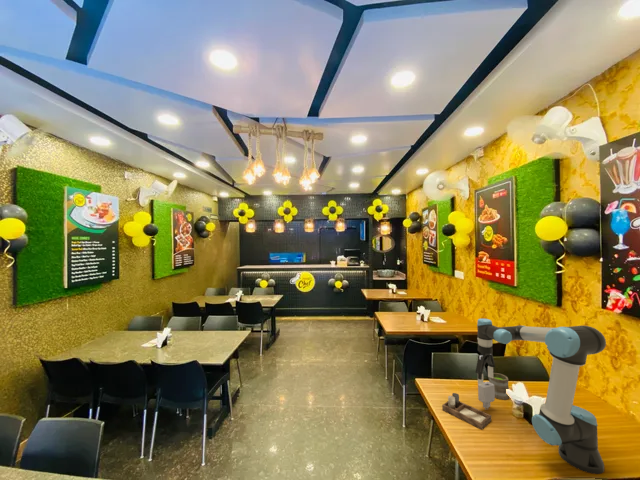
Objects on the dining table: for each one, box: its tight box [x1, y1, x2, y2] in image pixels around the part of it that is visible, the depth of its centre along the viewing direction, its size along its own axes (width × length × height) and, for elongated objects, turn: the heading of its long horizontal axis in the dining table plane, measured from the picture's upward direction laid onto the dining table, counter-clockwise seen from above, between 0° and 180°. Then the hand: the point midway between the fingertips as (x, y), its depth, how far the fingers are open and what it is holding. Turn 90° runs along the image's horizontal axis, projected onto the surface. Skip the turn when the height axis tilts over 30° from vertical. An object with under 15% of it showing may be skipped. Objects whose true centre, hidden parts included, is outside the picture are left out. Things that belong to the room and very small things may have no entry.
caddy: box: [441, 392, 492, 430], centre depth 157 cm, size 22×12×8 cm, turn 36°
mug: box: [488, 372, 510, 400], centre depth 180 cm, size 16×11×12 cm
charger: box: [477, 381, 496, 411], centre depth 162 cm, size 5×9×15 cm, turn 112°
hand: (485, 380), depth 163 cm, fingers open, 13 cm apart
